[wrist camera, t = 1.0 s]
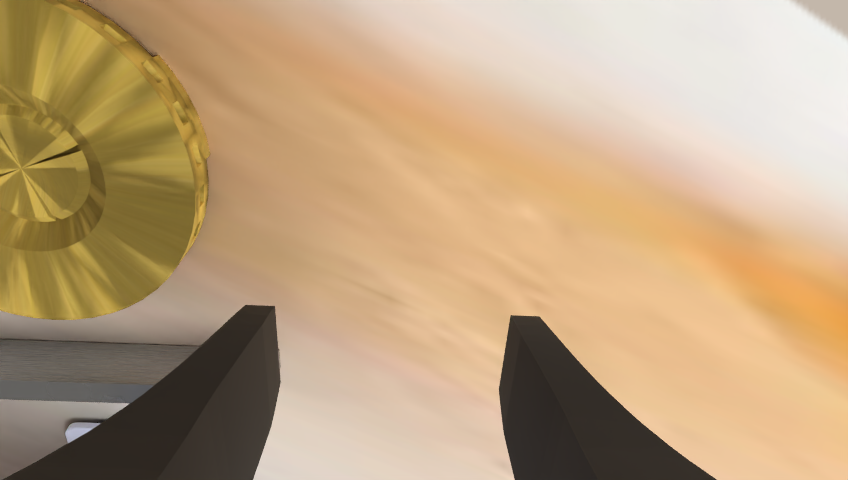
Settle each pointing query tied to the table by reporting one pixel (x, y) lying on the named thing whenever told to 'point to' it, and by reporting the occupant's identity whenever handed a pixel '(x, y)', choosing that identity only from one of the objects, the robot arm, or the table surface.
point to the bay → (84, 369)
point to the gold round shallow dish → (90, 164)
